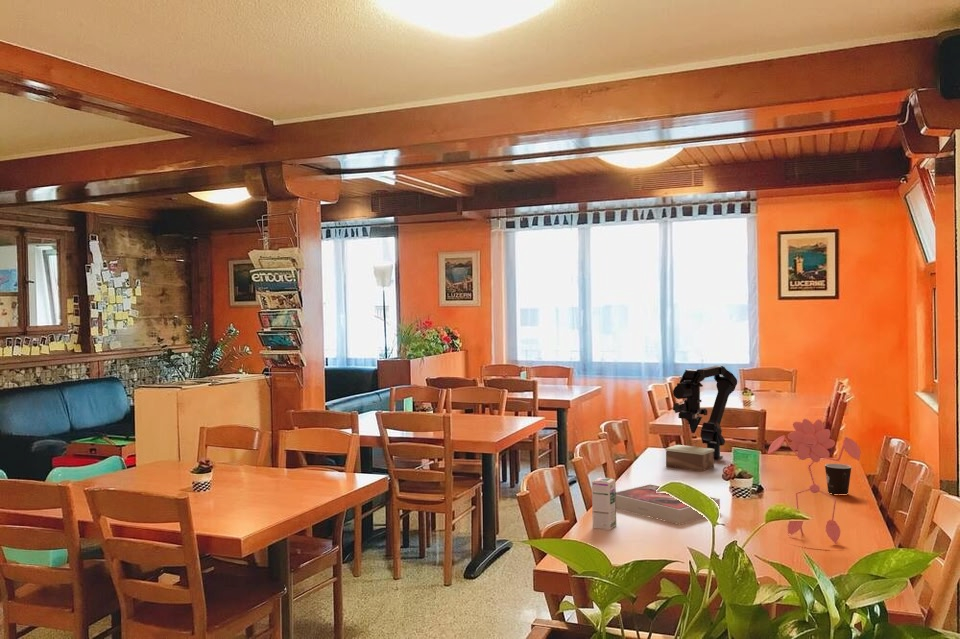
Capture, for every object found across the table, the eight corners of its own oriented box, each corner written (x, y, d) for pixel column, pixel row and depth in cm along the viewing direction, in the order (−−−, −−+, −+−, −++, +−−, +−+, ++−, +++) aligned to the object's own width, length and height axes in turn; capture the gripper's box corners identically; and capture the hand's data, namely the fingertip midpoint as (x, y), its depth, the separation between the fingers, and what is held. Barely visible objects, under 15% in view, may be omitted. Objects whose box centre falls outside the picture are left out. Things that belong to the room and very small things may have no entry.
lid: (677, 446, 330) (677, 444, 330) (714, 451, 319) (714, 448, 319) (665, 450, 320) (665, 448, 320) (702, 455, 310) (702, 452, 310)
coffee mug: (826, 489, 277) (826, 462, 276) (852, 492, 272) (852, 465, 272) (822, 496, 267) (822, 468, 266) (849, 499, 262) (849, 470, 262)
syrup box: (610, 530, 226) (610, 482, 226) (591, 527, 229) (591, 480, 228) (616, 525, 231) (616, 478, 231) (598, 523, 234) (598, 476, 233)
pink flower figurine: (774, 526, 229) (773, 412, 228) (866, 544, 212) (866, 420, 211) (754, 539, 217) (753, 418, 216) (850, 558, 200) (850, 427, 199)
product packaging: (649, 498, 267) (649, 484, 267) (719, 514, 246) (719, 498, 246) (609, 508, 254) (609, 493, 254) (679, 526, 232) (679, 510, 232)
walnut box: (678, 462, 329) (678, 447, 329) (713, 466, 319) (713, 451, 319) (666, 466, 320) (666, 451, 320) (702, 471, 310) (702, 455, 310)
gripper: (683, 394, 342) (683, 428, 342) (667, 398, 327) (667, 434, 328) (707, 396, 336) (707, 431, 336) (691, 399, 321) (691, 436, 321)
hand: (693, 433), depth 330 cm, fingers closed
